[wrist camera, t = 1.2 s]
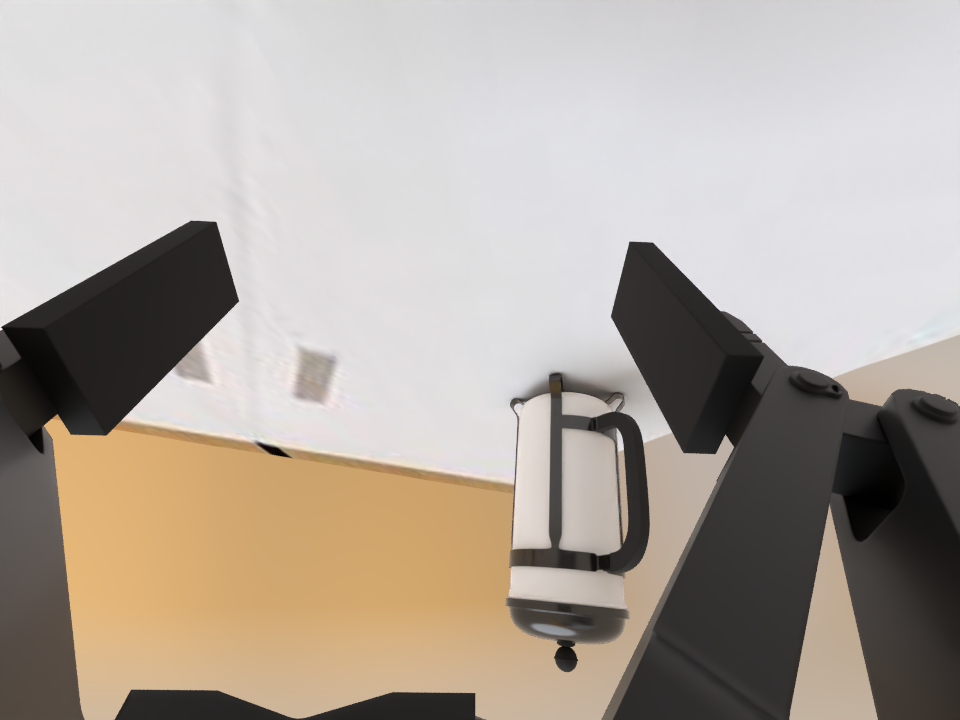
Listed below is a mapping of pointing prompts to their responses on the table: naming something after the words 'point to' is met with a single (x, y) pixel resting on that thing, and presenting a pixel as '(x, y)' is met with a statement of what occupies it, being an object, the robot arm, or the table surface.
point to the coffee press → (574, 519)
